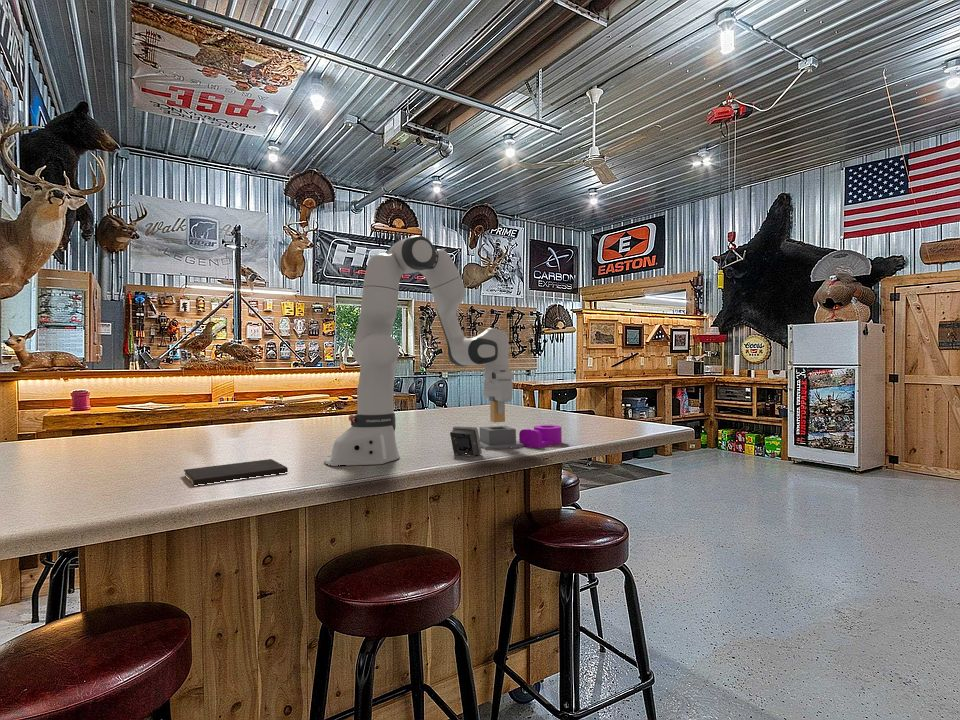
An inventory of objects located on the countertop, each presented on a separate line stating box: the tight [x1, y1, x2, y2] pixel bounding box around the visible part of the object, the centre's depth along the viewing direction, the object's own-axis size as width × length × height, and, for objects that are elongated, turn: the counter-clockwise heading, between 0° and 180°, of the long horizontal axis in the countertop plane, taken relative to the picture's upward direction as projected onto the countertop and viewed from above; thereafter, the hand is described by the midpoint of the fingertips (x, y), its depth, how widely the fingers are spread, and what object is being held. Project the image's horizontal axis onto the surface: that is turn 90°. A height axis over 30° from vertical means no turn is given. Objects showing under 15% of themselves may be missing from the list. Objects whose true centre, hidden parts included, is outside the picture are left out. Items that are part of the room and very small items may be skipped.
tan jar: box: [488, 396, 506, 423], centre depth 188 cm, size 5×5×9 cm
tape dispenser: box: [518, 424, 563, 449], centre depth 189 cm, size 16×10×6 cm, turn 136°
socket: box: [479, 425, 525, 450], centre depth 188 cm, size 14×14×6 cm
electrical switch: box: [449, 425, 483, 457], centre depth 170 cm, size 9×5×9 cm, turn 57°
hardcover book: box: [183, 458, 289, 486], centre depth 145 cm, size 16×23×2 cm
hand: (497, 412), depth 188 cm, fingers closed on tan jar, 4 cm apart
